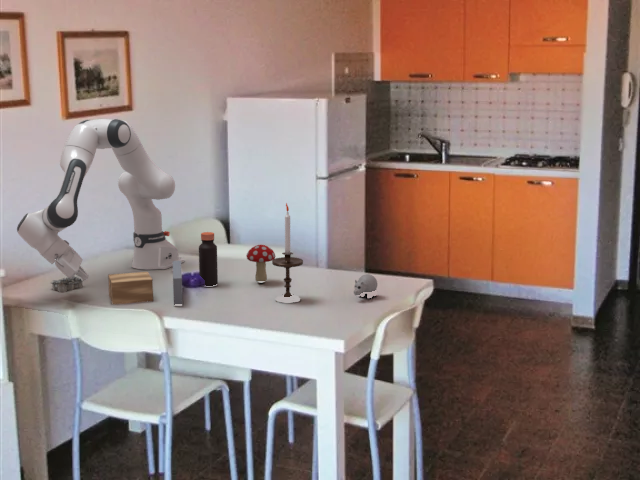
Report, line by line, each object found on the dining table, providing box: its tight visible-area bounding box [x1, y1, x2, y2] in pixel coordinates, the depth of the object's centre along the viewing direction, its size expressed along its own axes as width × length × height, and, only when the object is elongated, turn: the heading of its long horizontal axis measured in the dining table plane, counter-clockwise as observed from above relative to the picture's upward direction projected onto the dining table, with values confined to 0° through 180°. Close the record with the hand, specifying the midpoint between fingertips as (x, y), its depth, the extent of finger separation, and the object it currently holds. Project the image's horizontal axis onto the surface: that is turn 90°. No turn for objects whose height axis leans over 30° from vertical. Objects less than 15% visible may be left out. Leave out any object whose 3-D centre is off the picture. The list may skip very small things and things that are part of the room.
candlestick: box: [271, 202, 304, 297], centre depth 313 cm, size 11×11×35 cm
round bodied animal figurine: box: [353, 273, 378, 296], centre depth 319 cm, size 7×12×8 cm, turn 143°
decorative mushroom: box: [245, 244, 277, 282], centre depth 338 cm, size 11×11×15 cm
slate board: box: [172, 261, 184, 306], centre depth 320 cm, size 26×3×10 cm, turn 9°
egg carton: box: [50, 275, 85, 293], centre depth 331 cm, size 11×8×4 cm
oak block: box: [107, 271, 154, 305], centre depth 318 cm, size 12×14×8 cm
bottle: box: [198, 231, 219, 286], centre depth 334 cm, size 7×7×20 cm
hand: (87, 278), depth 315 cm, fingers closed
